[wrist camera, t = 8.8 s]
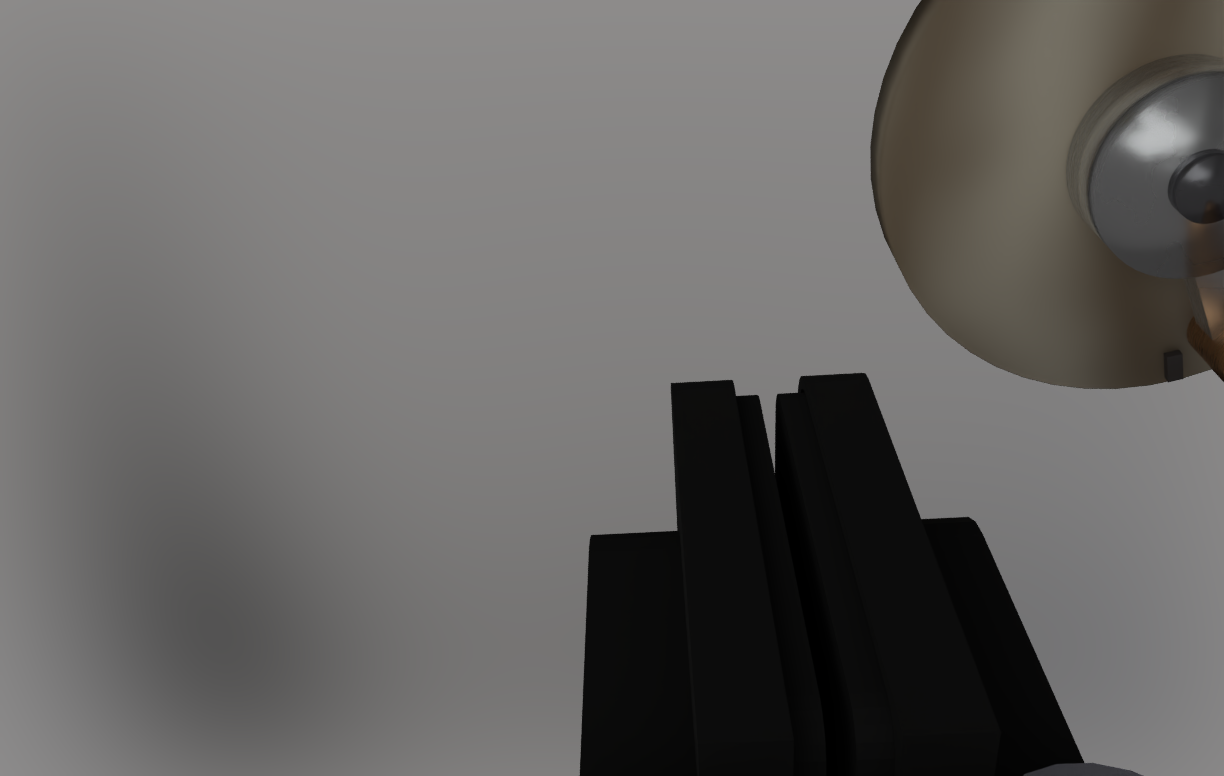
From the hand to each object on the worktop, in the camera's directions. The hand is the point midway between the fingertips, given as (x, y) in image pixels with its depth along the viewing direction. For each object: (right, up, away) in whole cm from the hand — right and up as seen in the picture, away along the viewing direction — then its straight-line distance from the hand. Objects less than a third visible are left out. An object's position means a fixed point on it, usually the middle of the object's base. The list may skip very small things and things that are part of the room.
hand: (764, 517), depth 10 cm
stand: (+15, +9, +26) cm, 32 cm away
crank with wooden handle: (+17, +7, +25) cm, 31 cm away
